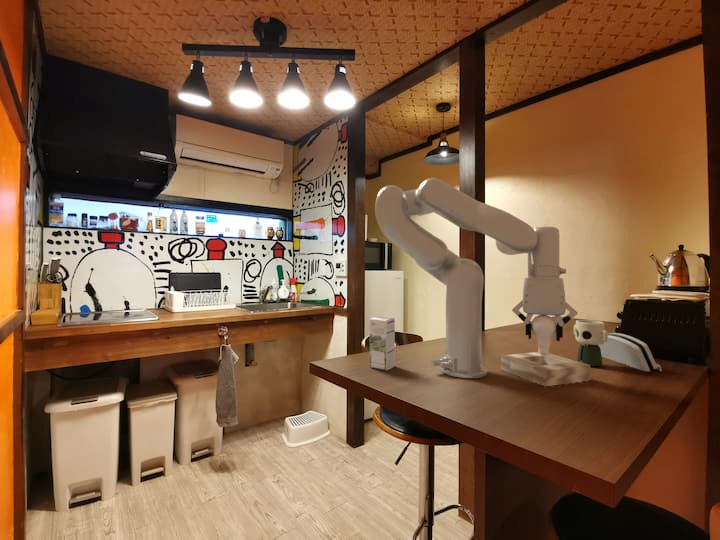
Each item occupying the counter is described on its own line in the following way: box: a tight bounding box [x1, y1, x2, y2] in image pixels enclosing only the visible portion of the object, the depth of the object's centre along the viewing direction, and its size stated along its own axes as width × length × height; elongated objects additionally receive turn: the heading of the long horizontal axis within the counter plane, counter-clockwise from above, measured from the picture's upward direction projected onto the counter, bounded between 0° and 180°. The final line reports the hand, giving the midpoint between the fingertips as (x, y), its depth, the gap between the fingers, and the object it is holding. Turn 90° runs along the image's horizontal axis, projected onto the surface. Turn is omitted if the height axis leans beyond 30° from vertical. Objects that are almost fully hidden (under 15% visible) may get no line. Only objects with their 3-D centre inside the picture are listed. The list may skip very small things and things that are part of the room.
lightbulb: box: [530, 315, 557, 355], centre depth 90 cm, size 6×6×11 cm
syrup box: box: [368, 316, 396, 371], centre depth 97 cm, size 6×6×14 cm
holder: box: [500, 351, 591, 387], centre depth 90 cm, size 15×15×4 cm
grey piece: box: [598, 332, 663, 373], centre depth 101 cm, size 17×5×10 cm, turn 3°
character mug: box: [573, 319, 609, 367], centre depth 99 cm, size 11×7×13 cm, turn 13°
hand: (543, 338), depth 90 cm, fingers closed on lightbulb, 6 cm apart
